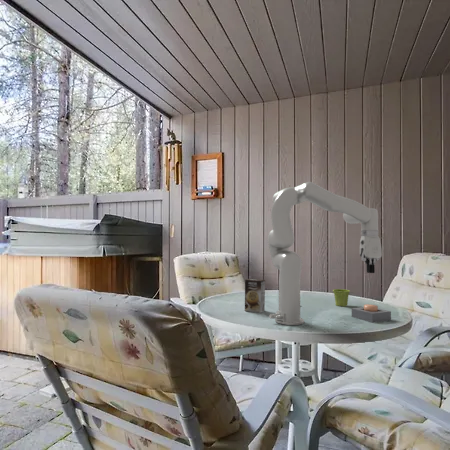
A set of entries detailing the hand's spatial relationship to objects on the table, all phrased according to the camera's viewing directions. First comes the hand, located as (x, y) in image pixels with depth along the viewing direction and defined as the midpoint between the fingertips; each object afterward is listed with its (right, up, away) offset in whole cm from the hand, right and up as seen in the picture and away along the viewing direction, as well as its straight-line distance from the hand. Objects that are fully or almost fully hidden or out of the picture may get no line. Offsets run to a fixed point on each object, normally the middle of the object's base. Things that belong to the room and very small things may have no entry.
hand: (370, 272), depth 150 cm
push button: (0, -18, -1) cm, 19 cm away
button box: (0, -21, -1) cm, 22 cm away
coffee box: (-54, -22, +13) cm, 60 cm away
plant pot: (-3, -23, +29) cm, 38 cm away
